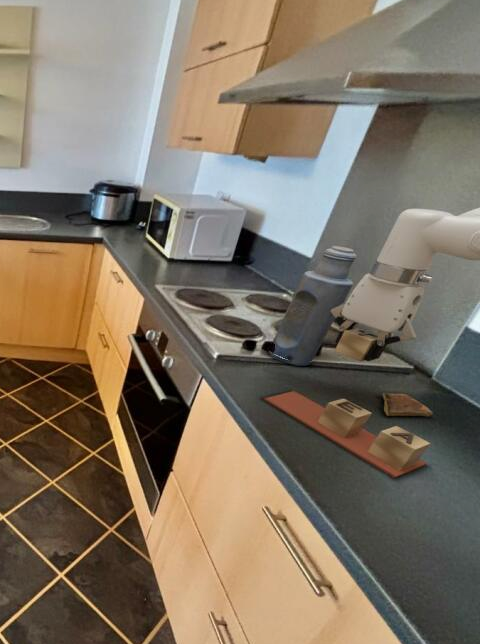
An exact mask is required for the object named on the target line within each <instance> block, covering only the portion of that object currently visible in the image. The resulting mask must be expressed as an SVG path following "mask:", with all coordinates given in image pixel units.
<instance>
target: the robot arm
mask: <svg viewBox="0 0 480 644" xmlns="http://www.w3.org/2000/svg"><path fill="white" fill-rule="evenodd" d="M438 253H441V254H444V255H448V256H452V257H455V258H460V259H463V260H467V261H480V207H478V208H474V209H471V210H469V211H466V212H463V213H461V214H459V215H454V214H453V213H451V212H447V211H443V210H437V209H430V208H429V209H427V208H408V209H405V210H403V211H402V212H401V213H399V215H398V217H397V219H396V220H395V222H394V224H393V227H392V229H391V231H390V233H389V235H388V237H387V239H386V241H385V243H384V245H383V247H382V249H381V251H380V253H379V255H378V257H377V259H376V260H375V262H374V264H373V266H372V269H371V271H370V273H366V274H364V276H363V277H362V278H361V279H360V281H359V282H358V283H357V285H356V286H355V288H354V289H353V290H352V292H351V293H350V295H349V296H348V298H347V299H346V302H344V303H343V304H342V305H340V306H338V307H335V308H333V309H332V310H331V312H332V314H333V315H334V317H335V322H336V323H337V325H338V331H339V333H338V336H337V337H336V339H335V341H334V342H335V345H334V349H336V347H337V345H338V343H339V341H340V339H341V337H342V335H343V333H344V331H346V330H352V329H355V327H356V326H357V325H358V324H360V325H363V326H365V327H369V328H370V329H374V330H377V331H378V332H377V335H378V338H377V342H376V343H374V344H372V346H371V348H370V349H369V351H368V353H367V355H366V357H365V361H366V362H372V361H375V360H378V359H379V358H381V356H382V354H383V353H384V351H385V349H386V347H387V346H388V345H391V344H395V343H400V342H404V341H410V340H411V341H412V340H415V339H417V334H416V332H415V329H414V325H412V322H413V320H414V318H415V316H416V314H417V312H418V309H419V307H420V305H421V302H422V298H423V296H424V292H425V288H426V287H425V285H423V283H428V284H431V283H432V282H433V281H434V279H435V276H434V275H430V273H429V272H430V270H429V269H430V267H431V265H432V264H433V262H434V260H435V259H436V256H437V255H438ZM397 332H402V334H400V335H394V334H395V333H397Z"/></svg>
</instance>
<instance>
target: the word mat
mask: <svg viewBox="0 0 480 644" xmlns="http://www.w3.org/2000/svg"><path fill="white" fill-rule="evenodd" d="M263 400H264V401H265V402H267V403H268V404H270V405H272V406H274V407H275V408H277V409H279V410H280V411H282V412H284V413H285V414H287V415H289V416H290V417H292V418H293V419H295V420H297V421H298V422H300V423H302V424H304V426H307V427H309V428H310V429H311V430H313V431H315V432H317V433H318V434H320V435H321V436H323V437H325V438H327V439H328V440H330V441H332V442H333V443H335V444H336V445H338V446H340V447H341V448H343V449H345V450H347V451H348V452H350V453H352V454H353V455H355V456H357V457H358V458H360V459H362V460H363V461H365V462H367V463H368V464H370V465H372V466H373V467H375V468H377V469H378V470H380V471H381V472H383V473H385V474H386V475H388V476H390V477H392V478H393V479H396V478H399V477H401V476H404V475H405V474H408V473H410V472H412V471H413V472H414V471H415V470H417V469H420V468H422V467H425V466H426V465H427V463H426V462H424V461H422V460H421V459H419V460H418V461H417V462H416V464H415V465H412V466H410V467H408V468H405V469H403V470H400V471H399V470H398V469H396V468H394V467H393V466H391V465H389V464H387V463H386V462H384V461H382V460H381V459H379V458H377V457H375V456H374V455H372V454H370V453H369V452H368V450H369V449H370V447H371V446H372V444H373V443H374V441H375V440H376V438H377V437H378V436H377V435H376V434H373V433H372V432H370V431H368V430H366V429H364V428H362V429H361V431H360V433H358V434H355V435H352V436H349V437H346V438H343V437H342V436H340V435H338V434H337V433H335V432H333V431H331V430H330V429H328V428H326V427H325V426H323V425H321V424H319V423H318V420H319V419H320V417H321V415H322V413H323V412H324V410H325V408H326V407H324V406H322V405H320V404H318V403H317V402H315V401H313V400H311V399H309V398H308V397H306V396H304V395H302V394H300V393H298V392H296V391H295V390H293V391H288V392H284V393H280V394H277V395H272V396H268V397H265V398H264V399H263Z"/></svg>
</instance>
